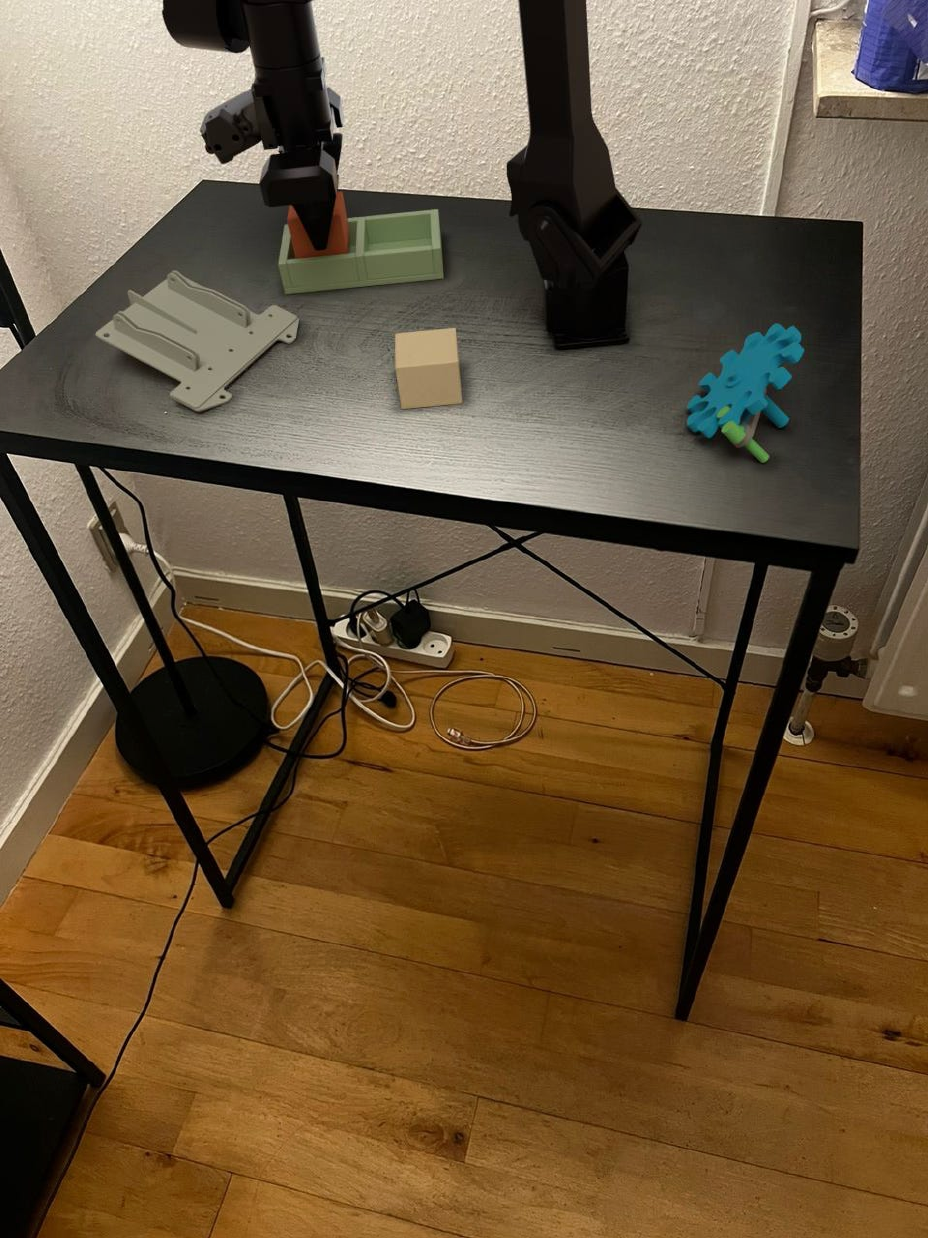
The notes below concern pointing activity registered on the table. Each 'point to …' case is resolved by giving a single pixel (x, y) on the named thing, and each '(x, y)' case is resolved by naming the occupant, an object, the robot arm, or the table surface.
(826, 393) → the table surface
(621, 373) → the table surface
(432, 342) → the tan block
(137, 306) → the metal bracket
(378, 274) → the green divided tray
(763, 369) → the gear
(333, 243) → the terracotta block
